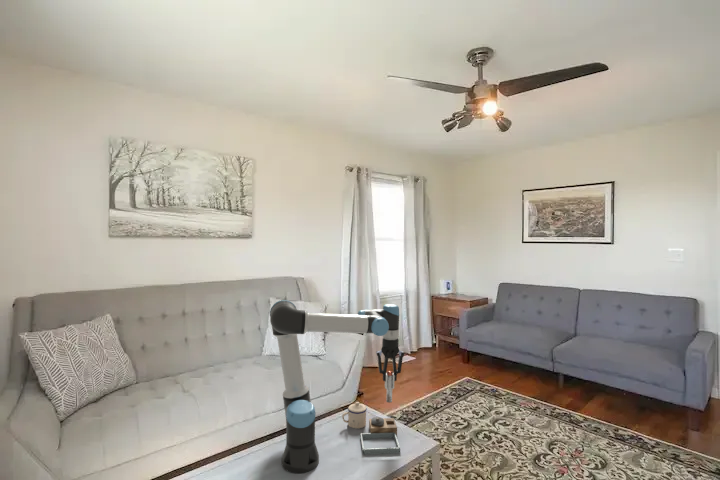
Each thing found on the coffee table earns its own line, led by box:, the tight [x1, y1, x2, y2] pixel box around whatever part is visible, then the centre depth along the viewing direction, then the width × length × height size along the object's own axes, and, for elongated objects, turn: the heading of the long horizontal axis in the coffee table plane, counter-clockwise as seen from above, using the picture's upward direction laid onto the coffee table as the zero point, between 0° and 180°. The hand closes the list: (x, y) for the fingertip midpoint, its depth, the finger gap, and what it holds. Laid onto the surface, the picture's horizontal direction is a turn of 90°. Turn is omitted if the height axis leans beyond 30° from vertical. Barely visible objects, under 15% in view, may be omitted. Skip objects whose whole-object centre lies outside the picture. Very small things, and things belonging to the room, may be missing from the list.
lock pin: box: [385, 370, 394, 404], centre depth 183 cm, size 3×3×14 cm
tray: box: [359, 432, 401, 455], centre depth 173 cm, size 16×13×3 cm
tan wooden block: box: [368, 416, 398, 437], centre depth 185 cm, size 12×9×7 cm
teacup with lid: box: [341, 401, 367, 429], centre depth 191 cm, size 12×9×12 cm
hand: (389, 387), depth 183 cm, fingers closed on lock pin, 3 cm apart
